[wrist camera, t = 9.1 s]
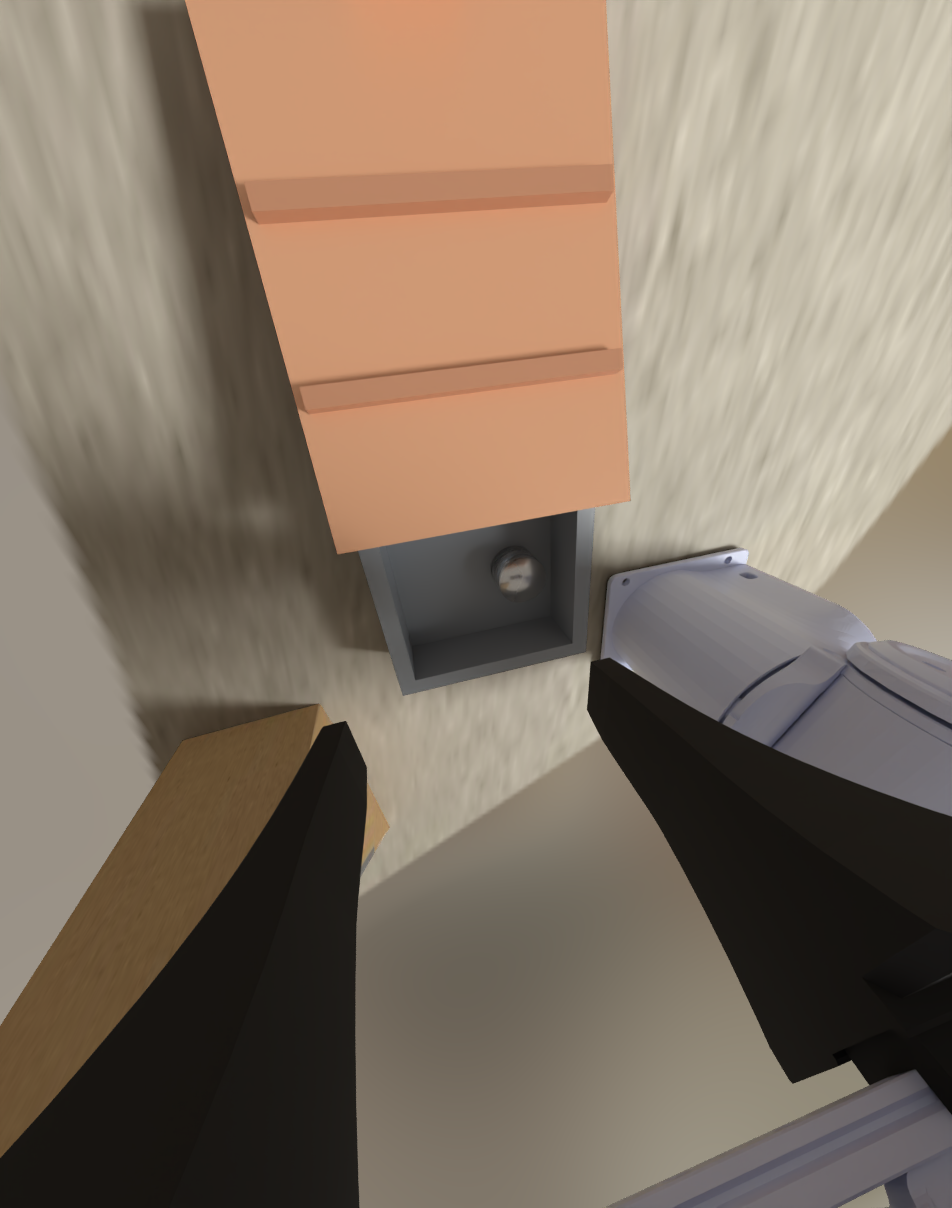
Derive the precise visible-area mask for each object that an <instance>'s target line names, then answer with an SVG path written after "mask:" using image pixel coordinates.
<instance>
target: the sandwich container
mask: <svg viewBox="0 0 952 1208" xmlns="http://www.w3.org/2000/svg"><path fill="white" fill-rule="evenodd" d="M331 724H332V722H331V720H330V719H329V717H328V716H327V714H326V713H325V711H324V709H323V708H322V706H321V705H320V704H316V705H312V706H309V707H305V708H301V709H297V710H294V711H290V712H286V713H283V714H279V715H275V716H271V717H268V718H264V719H260V720H256V721H253V722H249V723H245V724H241V725H237V726H234V727H230V728H227V729H223V730H219V731H216V732H212V733H208V734H205V735H201V736H197V737H194V738H190V739H186V740H183V741H182V742H181V744H180V746H179V747H178V749H177V750H176V752H175V753H174V755H173V756H172V758H171V760H170V761H169V763H168V764H167V766H166V767H165V769H164V771H163V772H162V774H161V775H160V777H159V778H158V780H157V781H156V783H155V785H154V786H153V788H152V789H151V791H150V793H149V794H148V796H147V797H146V799H145V800H144V802H143V803H142V805H141V807H140V808H139V810H138V811H137V813H136V815H135V816H134V817H133V819H132V821H131V822H130V824H129V825H128V827H127V828H126V830H125V831H124V833H123V835H122V836H121V838H120V839H119V841H118V842H117V844H116V846H115V847H114V849H113V850H112V852H111V853H110V855H109V857H108V858H107V860H106V861H105V863H104V864H103V866H102V867H101V869H100V871H99V872H98V874H97V875H96V877H95V879H94V880H93V882H92V883H91V885H90V886H89V888H88V889H87V891H86V893H85V894H84V896H83V897H82V899H81V900H80V902H79V904H78V905H77V907H76V908H75V910H74V912H73V913H72V915H71V916H70V918H69V919H68V921H67V922H66V924H65V926H64V927H63V929H62V930H61V932H60V933H59V935H58V936H57V938H56V940H55V941H54V943H53V944H52V946H51V948H50V949H49V950H48V952H47V954H46V955H45V957H44V958H43V960H42V961H41V963H40V965H39V966H38V968H37V969H36V971H35V972H34V974H33V976H32V977H31V979H30V980H29V982H28V983H27V985H26V987H25V988H24V990H23V991H22V993H21V994H20V996H19V998H18V999H17V1001H16V1002H15V1004H14V1005H13V1007H12V1008H11V1010H10V1012H9V1013H8V1015H7V1016H6V1018H5V1019H4V1021H3V1023H2V1024H1V1026H0V1158H1V1157H2V1155H3V1154H4V1153H5V1152H6V1151H7V1150H8V1149H9V1148H10V1147H11V1145H12V1144H13V1143H14V1142H15V1141H16V1140H17V1139H18V1138H19V1137H20V1136H21V1134H22V1133H23V1132H24V1131H25V1130H26V1129H27V1128H28V1127H29V1126H30V1125H31V1123H32V1122H33V1121H34V1120H35V1119H36V1118H37V1117H38V1116H39V1115H40V1113H41V1112H42V1111H43V1110H44V1109H45V1108H46V1107H47V1106H48V1105H49V1103H50V1102H51V1101H52V1100H53V1099H54V1098H55V1097H56V1095H57V1094H58V1093H59V1092H60V1091H61V1090H62V1088H63V1087H64V1086H65V1085H66V1084H67V1083H68V1082H69V1080H70V1079H71V1078H72V1077H73V1076H74V1075H75V1074H76V1072H77V1071H78V1070H79V1069H80V1068H81V1066H82V1065H83V1064H84V1063H85V1062H86V1060H87V1059H88V1058H89V1057H90V1056H91V1055H92V1053H93V1052H94V1051H95V1050H96V1049H97V1047H98V1046H99V1045H100V1044H101V1043H102V1042H103V1040H104V1039H105V1038H106V1037H107V1036H108V1034H109V1033H110V1032H111V1031H112V1030H113V1028H114V1027H115V1026H116V1025H117V1024H118V1023H119V1021H120V1020H121V1019H122V1018H123V1017H124V1015H125V1014H126V1013H127V1012H128V1011H129V1009H130V1008H131V1007H132V1006H133V1005H134V1004H135V1002H136V1001H137V1000H138V999H139V998H140V996H141V995H142V994H143V993H144V991H145V990H146V989H147V988H148V987H149V985H150V984H151V983H152V982H153V980H154V979H155V978H156V977H157V975H158V974H159V973H160V972H161V970H162V969H163V968H164V967H165V965H166V964H167V963H168V961H169V960H170V959H171V958H172V956H173V955H174V954H175V952H176V951H177V950H178V948H179V947H180V946H181V944H182V943H183V942H184V941H185V939H186V938H187V937H188V935H189V934H190V933H191V931H192V930H193V929H194V928H195V926H196V925H197V924H198V922H199V921H200V920H201V918H202V917H203V916H204V914H205V913H206V912H207V910H208V909H209V908H210V906H211V905H212V903H213V902H214V901H215V899H216V898H217V896H218V895H219V894H220V892H221V891H222V890H223V888H224V887H225V885H226V884H227V882H228V881H229V880H230V878H231V877H232V875H233V874H234V872H235V871H236V869H237V868H238V867H239V865H240V864H241V862H242V861H243V859H244V858H245V856H246V855H247V853H248V852H249V850H250V849H251V847H252V845H253V844H254V842H255V841H256V839H257V838H258V836H259V835H260V833H261V831H262V830H263V828H264V827H265V825H266V824H267V822H268V821H269V819H270V817H271V816H272V814H273V813H274V811H275V809H276V808H277V806H278V804H279V802H280V801H281V799H282V797H283V796H284V794H285V792H286V791H287V789H288V787H289V786H290V784H291V782H292V781H293V779H294V777H295V775H296V773H297V772H298V770H299V768H300V766H301V765H302V763H303V761H304V759H305V757H306V756H307V754H308V752H309V750H310V748H311V747H312V745H313V743H314V741H315V739H316V737H317V736H318V734H319V732H320V730H321V729H322V727H323V726H327V725H331ZM389 828H390V827H389V825H388V823H387V821H386V819H385V817H384V815H383V813H382V811H381V809H380V807H379V805H378V803H377V801H376V799H375V797H374V795H373V793H372V791H371V789H370V787H369V785H368V783H367V813H366V824H365V835H364V845H363V855H362V865H361V875H362V873H363V872H364V870H365V868H366V866H367V865H368V863H369V861H370V860H371V858H372V856H373V854H374V853H375V851H376V849H377V847H378V846H379V844H380V843H381V841H382V839H383V838H384V836H385V834H386V833H387V831H388V830H389ZM361 875H360V877H361Z"/></svg>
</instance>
